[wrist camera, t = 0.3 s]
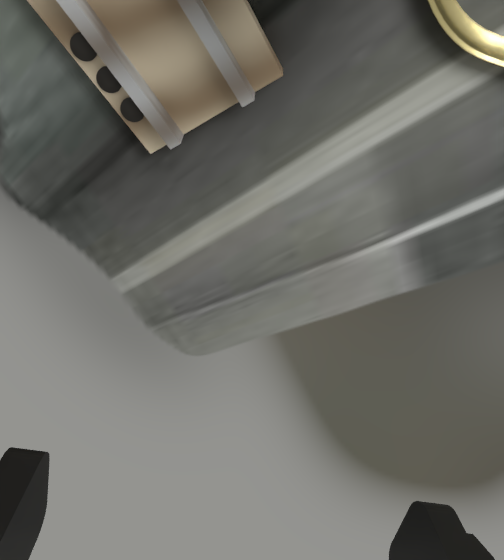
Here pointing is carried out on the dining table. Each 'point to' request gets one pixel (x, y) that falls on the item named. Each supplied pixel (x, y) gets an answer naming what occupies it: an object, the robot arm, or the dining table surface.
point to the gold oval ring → (468, 32)
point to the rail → (165, 58)
